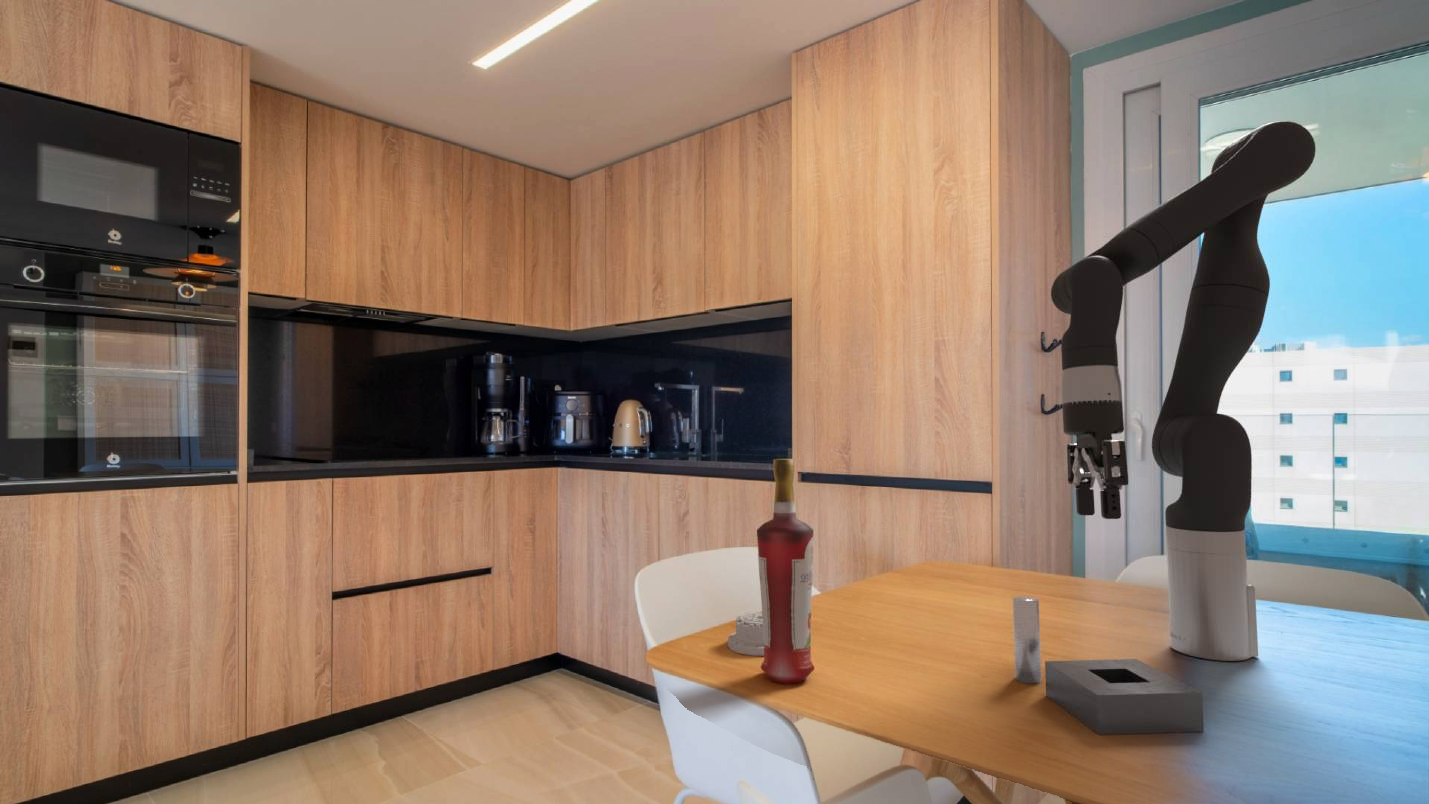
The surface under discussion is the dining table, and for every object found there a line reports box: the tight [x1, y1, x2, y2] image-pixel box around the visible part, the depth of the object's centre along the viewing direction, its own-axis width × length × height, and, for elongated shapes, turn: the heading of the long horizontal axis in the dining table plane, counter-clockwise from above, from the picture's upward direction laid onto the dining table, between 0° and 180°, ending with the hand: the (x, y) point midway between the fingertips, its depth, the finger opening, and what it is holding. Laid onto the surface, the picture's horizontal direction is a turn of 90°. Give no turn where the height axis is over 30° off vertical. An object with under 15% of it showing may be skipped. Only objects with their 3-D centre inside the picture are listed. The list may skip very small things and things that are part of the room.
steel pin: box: [1012, 596, 1042, 685], centre depth 90 cm, size 3×3×10 cm
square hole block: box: [1044, 658, 1205, 736], centre depth 79 cm, size 11×11×4 cm
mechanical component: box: [727, 611, 764, 657], centre depth 106 cm, size 10×4×10 cm
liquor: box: [756, 458, 815, 685], centre depth 93 cm, size 7×7×28 cm
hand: (1098, 516), depth 99 cm, fingers open, 8 cm apart
